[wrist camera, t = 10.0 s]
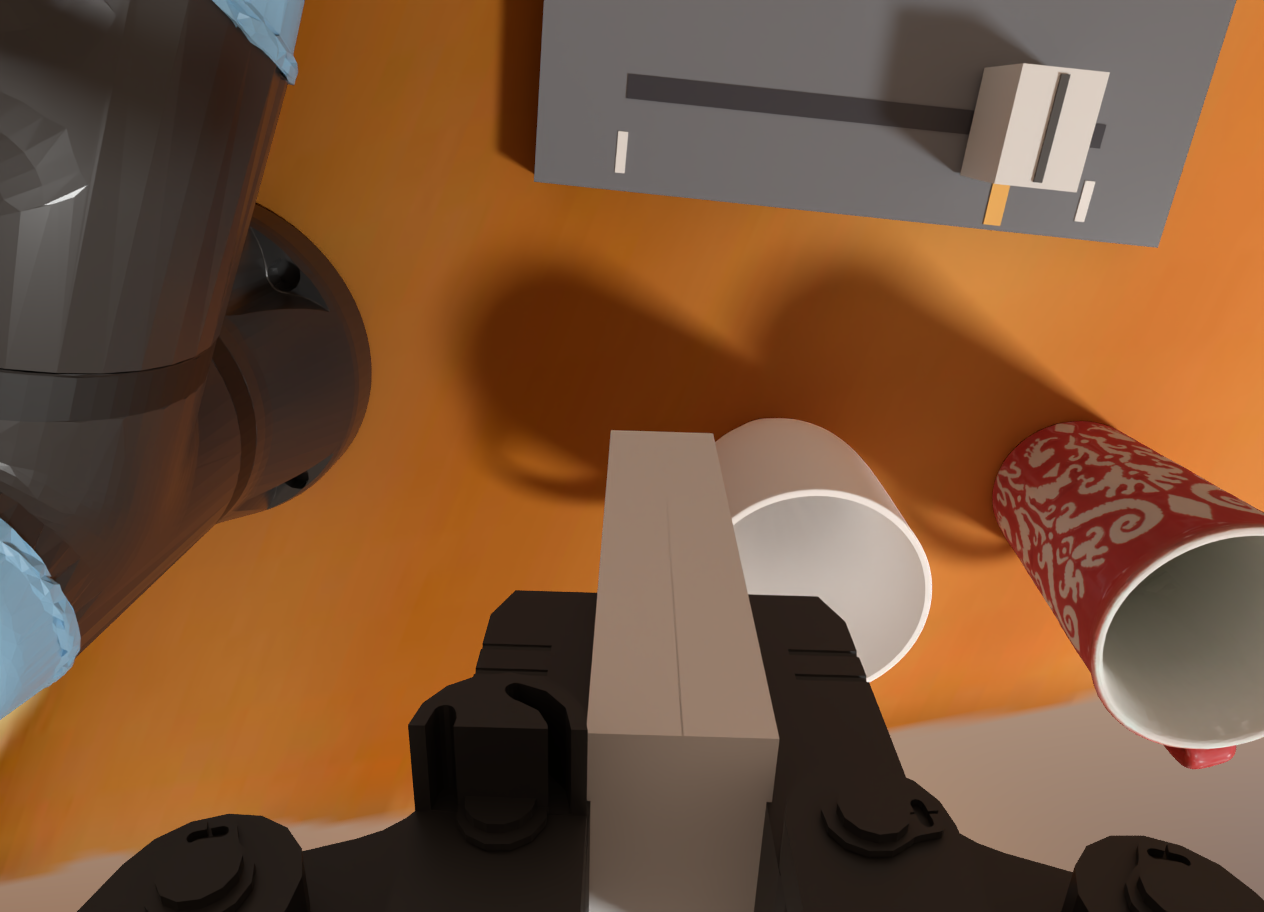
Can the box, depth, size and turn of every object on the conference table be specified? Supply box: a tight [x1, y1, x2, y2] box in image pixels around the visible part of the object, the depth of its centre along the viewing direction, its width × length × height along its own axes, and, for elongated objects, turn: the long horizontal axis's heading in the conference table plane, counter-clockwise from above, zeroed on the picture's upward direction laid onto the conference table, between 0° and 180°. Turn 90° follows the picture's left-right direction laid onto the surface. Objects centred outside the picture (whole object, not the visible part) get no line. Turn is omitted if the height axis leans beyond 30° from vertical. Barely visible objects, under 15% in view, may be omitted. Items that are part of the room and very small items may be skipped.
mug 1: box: [715, 418, 932, 682], centre depth 38 cm, size 12×9×12 cm
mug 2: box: [993, 421, 1264, 769], centre depth 37 cm, size 13×9×14 cm
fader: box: [960, 63, 1110, 192], centre depth 33 cm, size 3×4×4 cm
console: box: [534, 0, 1236, 248], centre depth 34 cm, size 26×15×2 cm, turn 84°
